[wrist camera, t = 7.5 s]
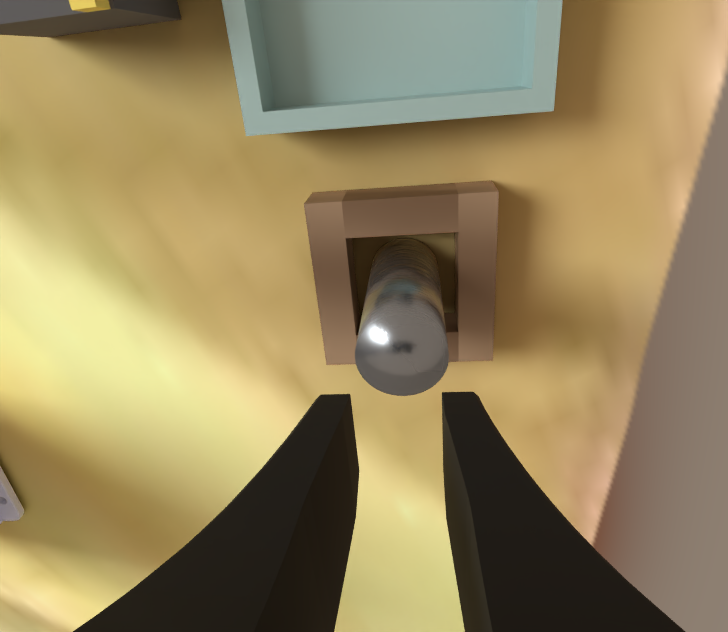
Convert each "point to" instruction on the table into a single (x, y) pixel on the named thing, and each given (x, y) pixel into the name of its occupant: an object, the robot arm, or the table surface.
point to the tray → (390, 60)
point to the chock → (80, 15)
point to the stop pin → (403, 321)
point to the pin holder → (406, 217)
